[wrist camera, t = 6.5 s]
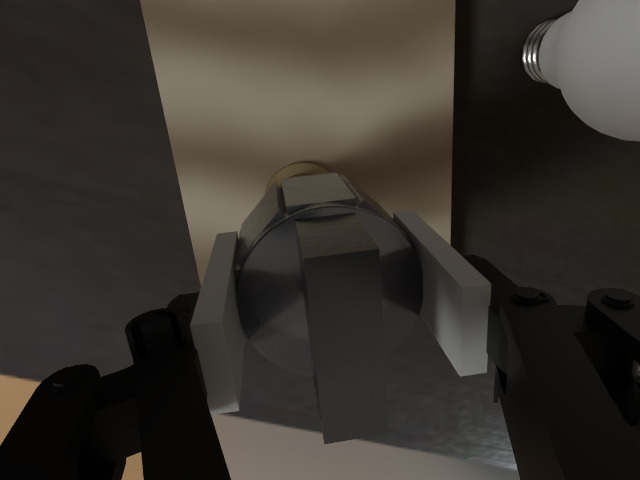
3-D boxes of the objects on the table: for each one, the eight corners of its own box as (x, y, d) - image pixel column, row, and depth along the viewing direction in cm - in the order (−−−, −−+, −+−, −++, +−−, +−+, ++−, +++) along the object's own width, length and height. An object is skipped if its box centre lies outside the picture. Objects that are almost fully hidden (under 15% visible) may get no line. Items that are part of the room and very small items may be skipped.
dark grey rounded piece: (232, 184, 17) (211, 262, 10) (383, 167, 18) (465, 229, 11) (254, 318, 20) (249, 462, 12) (388, 299, 20) (459, 427, 13)
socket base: (145, -4, 20) (115, -21, 16) (445, -29, 21) (489, -51, 17) (210, 305, 26) (200, 349, 22) (442, 273, 27) (473, 310, 23)
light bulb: (619, -7, 23) (912, -65, 12) (572, 127, 25) (787, 170, 15) (499, -35, 21) (713, -125, 11) (461, 108, 24) (611, 141, 14)
